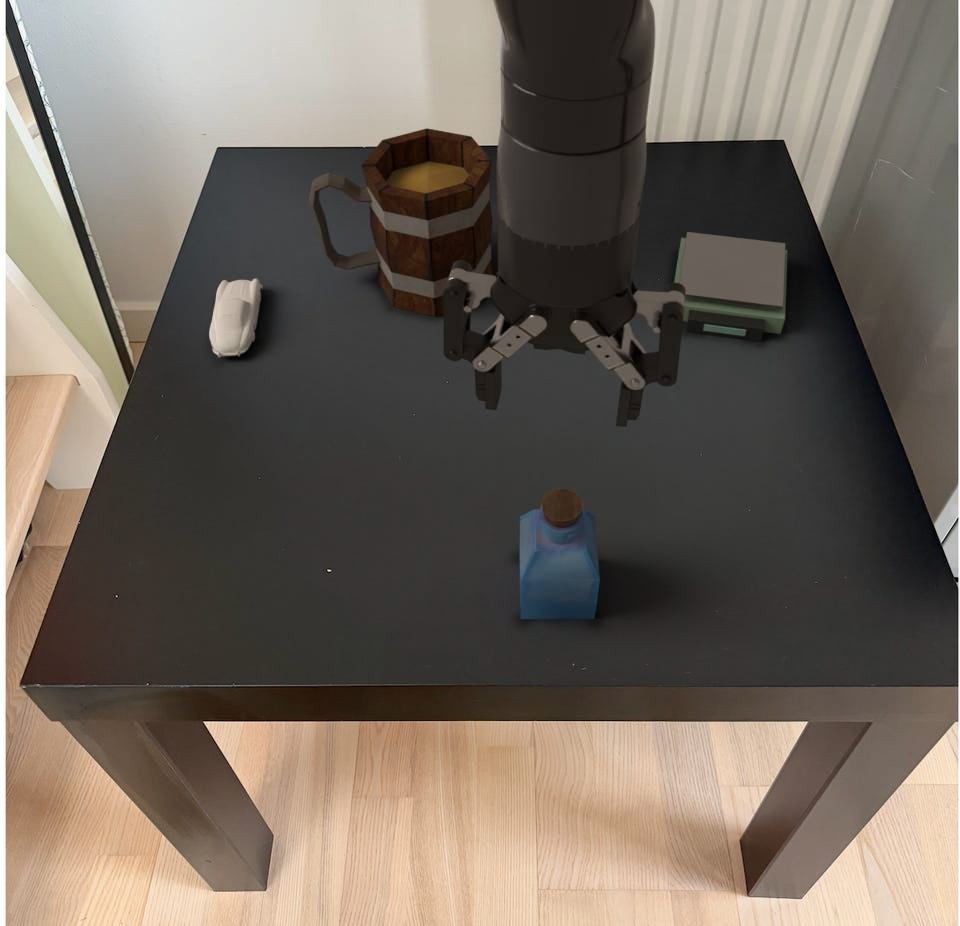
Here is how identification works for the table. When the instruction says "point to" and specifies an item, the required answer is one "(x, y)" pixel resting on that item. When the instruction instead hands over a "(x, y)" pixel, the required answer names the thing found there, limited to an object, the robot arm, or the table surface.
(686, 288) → the pan
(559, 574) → the perfume bottle
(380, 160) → the mug
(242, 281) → the toy car
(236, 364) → the table surface
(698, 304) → the scale
